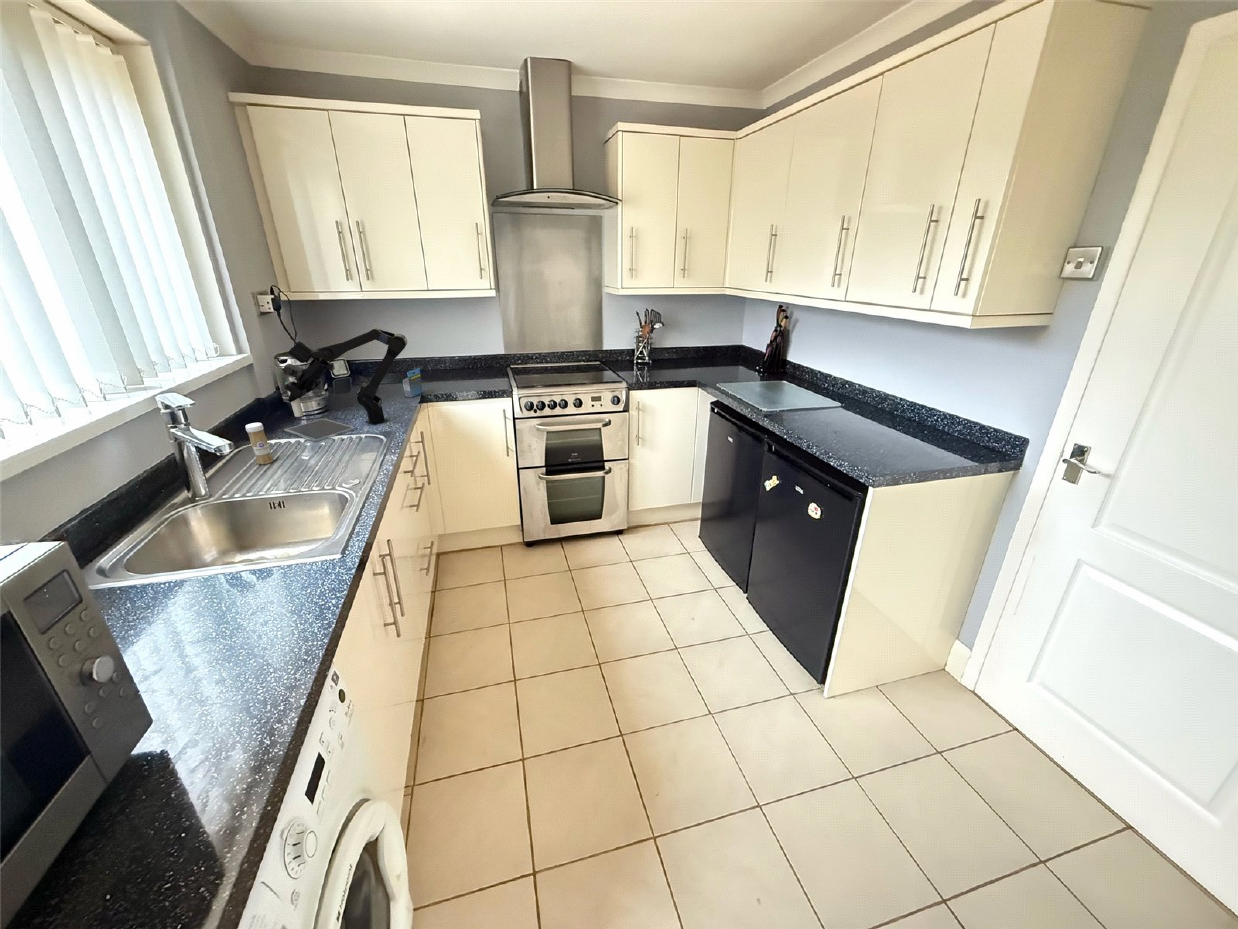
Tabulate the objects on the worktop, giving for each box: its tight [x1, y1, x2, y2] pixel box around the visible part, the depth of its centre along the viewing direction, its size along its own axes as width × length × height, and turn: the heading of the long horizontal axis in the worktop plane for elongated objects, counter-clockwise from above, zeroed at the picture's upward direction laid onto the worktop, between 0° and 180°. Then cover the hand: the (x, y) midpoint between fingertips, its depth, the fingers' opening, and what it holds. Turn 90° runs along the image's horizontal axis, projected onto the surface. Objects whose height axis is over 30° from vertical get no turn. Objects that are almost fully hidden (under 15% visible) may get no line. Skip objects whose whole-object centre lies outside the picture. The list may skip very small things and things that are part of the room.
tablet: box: [283, 418, 357, 443], centre depth 193 cm, size 22×16×1 cm
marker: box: [285, 381, 305, 419], centre depth 192 cm, size 3×3×14 cm
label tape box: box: [402, 367, 424, 398], centre depth 236 cm, size 9×4×12 cm, turn 164°
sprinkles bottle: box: [245, 422, 274, 465], centre depth 162 cm, size 5×5×13 cm
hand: (291, 400), depth 192 cm, fingers closed on marker, 3 cm apart
